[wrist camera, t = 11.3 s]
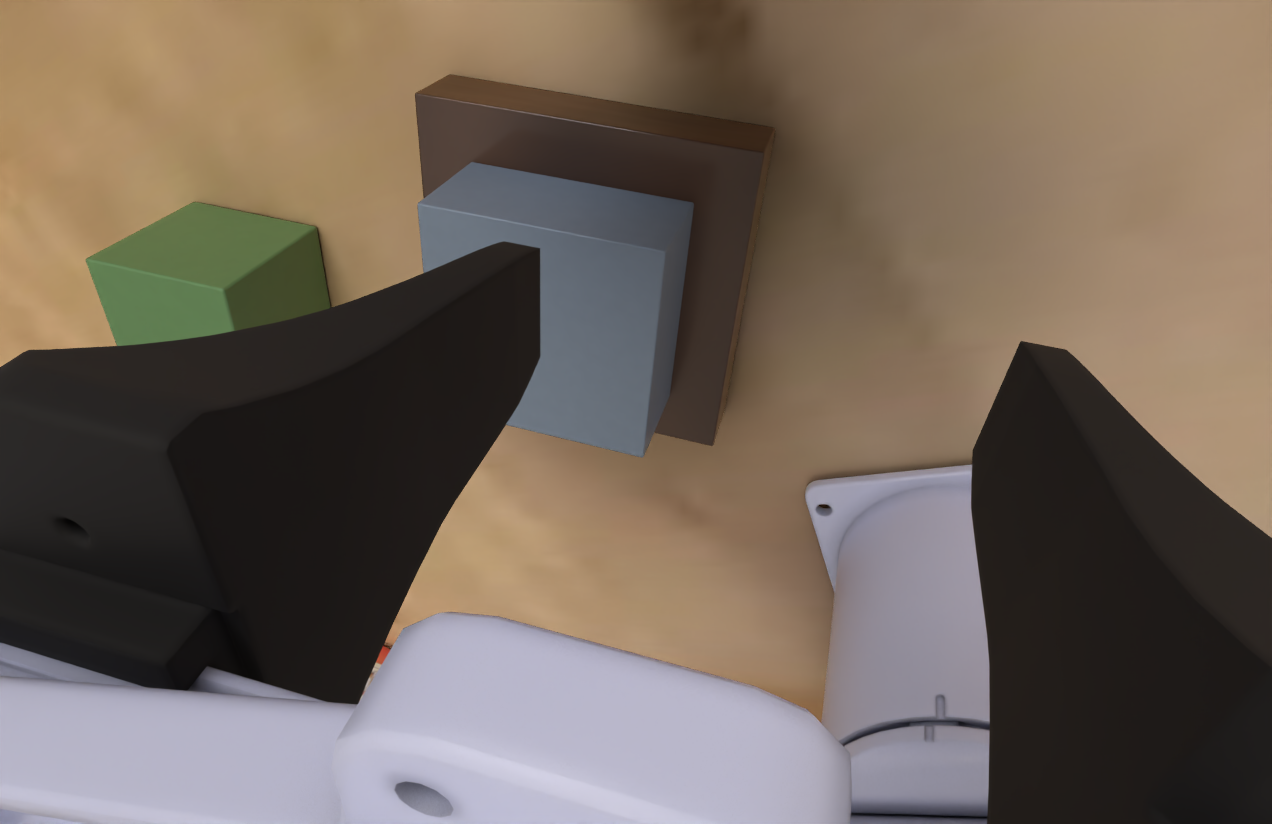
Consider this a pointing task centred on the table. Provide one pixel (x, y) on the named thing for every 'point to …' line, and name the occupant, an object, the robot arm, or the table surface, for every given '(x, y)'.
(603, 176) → the walnut slab
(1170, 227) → the table surface
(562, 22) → the table surface
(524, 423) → the blue-grey block
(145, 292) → the green block
